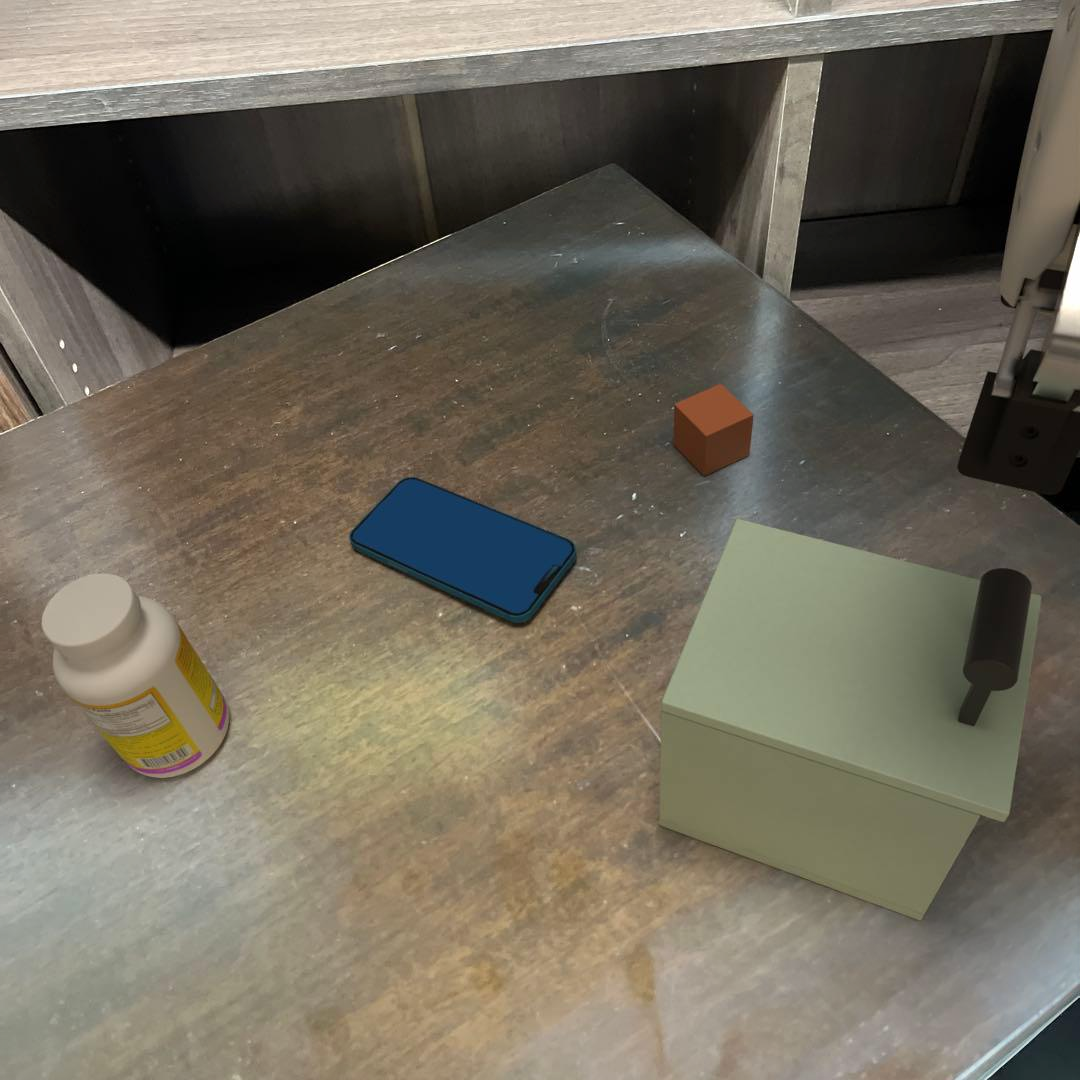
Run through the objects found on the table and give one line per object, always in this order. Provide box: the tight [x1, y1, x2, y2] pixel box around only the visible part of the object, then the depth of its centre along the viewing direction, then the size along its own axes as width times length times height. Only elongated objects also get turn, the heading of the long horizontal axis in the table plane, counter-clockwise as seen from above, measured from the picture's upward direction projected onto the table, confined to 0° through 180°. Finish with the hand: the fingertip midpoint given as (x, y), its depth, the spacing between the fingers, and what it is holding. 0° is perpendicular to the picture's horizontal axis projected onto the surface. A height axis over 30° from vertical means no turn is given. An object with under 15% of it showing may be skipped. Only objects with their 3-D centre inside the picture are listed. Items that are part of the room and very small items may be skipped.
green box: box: [658, 710, 982, 921], centre depth 51 cm, size 14×12×12 cm
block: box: [672, 383, 755, 477], centre depth 71 cm, size 4×4×4 cm
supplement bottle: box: [41, 572, 230, 779], centre depth 56 cm, size 7×7×13 cm
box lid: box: [660, 518, 1042, 823], centre depth 44 cm, size 15×12×6 cm
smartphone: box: [348, 476, 578, 624], centre depth 68 cm, size 7×1×15 cm
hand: (1026, 387), depth 35 cm, fingers open, 9 cm apart
